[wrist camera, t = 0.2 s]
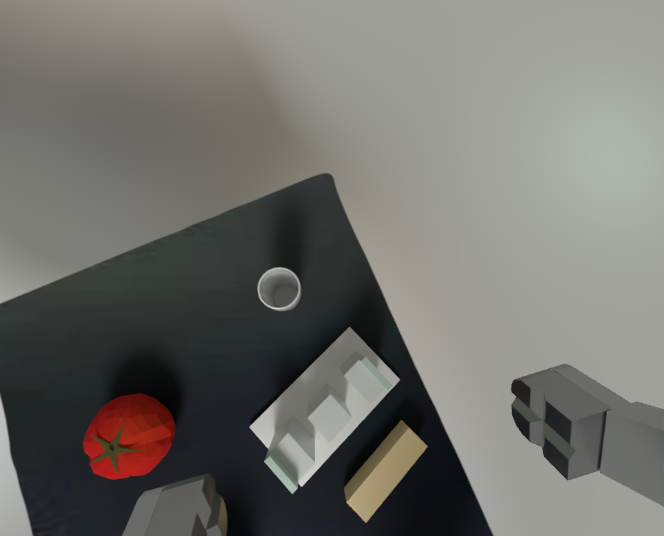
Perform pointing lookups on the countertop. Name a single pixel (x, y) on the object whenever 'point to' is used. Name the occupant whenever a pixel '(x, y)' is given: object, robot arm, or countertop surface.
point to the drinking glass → (279, 289)
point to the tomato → (129, 436)
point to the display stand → (322, 408)
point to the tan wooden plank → (383, 470)
